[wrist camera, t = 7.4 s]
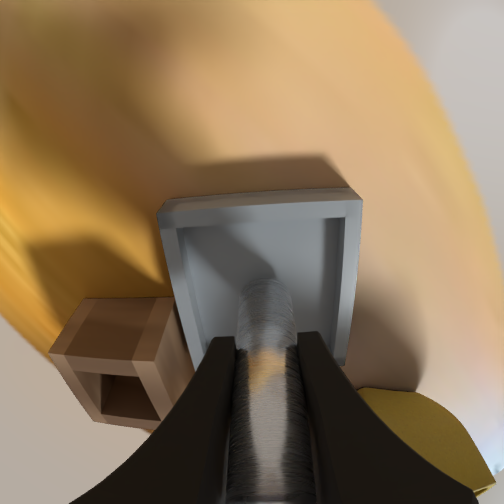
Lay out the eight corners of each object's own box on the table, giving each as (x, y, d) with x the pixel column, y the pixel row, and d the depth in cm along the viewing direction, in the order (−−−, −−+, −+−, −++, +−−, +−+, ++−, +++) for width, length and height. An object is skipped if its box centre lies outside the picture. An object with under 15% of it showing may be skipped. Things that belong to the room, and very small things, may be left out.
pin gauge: (290, 318, 13) (311, 512, 6) (241, 320, 13) (230, 514, 6) (291, 276, 12) (322, 489, 5) (237, 278, 12) (219, 493, 5)
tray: (338, 344, 15) (344, 365, 14) (200, 352, 16) (195, 373, 14) (350, 187, 12) (362, 199, 10) (167, 199, 12) (156, 213, 10)
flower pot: (285, 436, 20) (291, 551, 12) (346, 359, 16) (383, 515, 8) (383, 441, 21) (405, 534, 13) (452, 373, 17) (500, 481, 9)
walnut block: (196, 371, 16) (185, 432, 13) (114, 367, 16) (93, 421, 13) (175, 296, 14) (154, 361, 10) (83, 298, 14) (47, 352, 11)
